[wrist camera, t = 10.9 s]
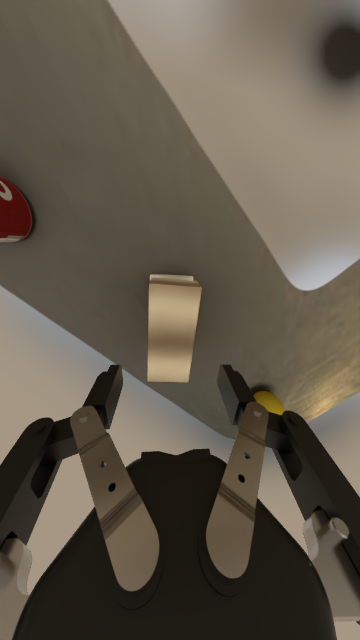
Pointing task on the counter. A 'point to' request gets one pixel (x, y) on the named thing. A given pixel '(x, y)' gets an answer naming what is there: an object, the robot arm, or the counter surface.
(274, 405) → the lemon
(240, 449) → the robot arm
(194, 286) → the shelf board
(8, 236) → the soda can
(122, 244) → the counter surface
